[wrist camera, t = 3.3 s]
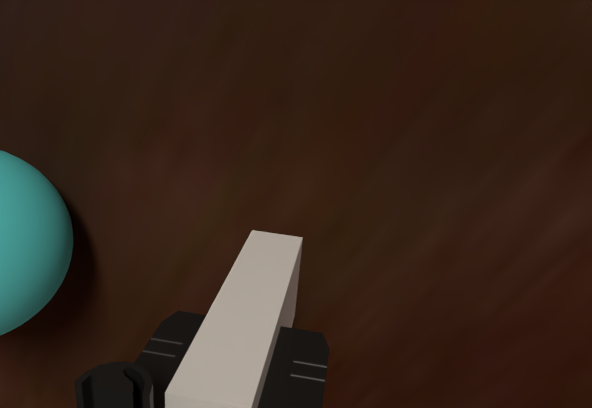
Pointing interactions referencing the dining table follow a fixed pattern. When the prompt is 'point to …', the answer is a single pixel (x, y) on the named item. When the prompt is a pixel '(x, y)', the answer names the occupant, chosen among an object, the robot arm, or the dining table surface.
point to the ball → (30, 241)
